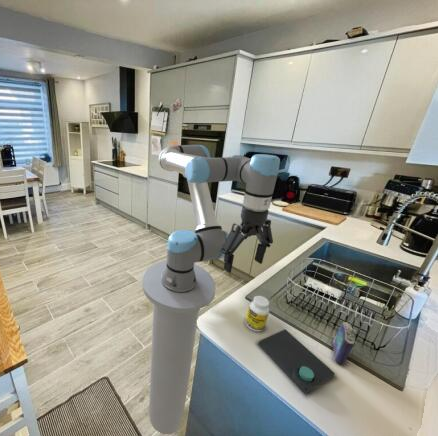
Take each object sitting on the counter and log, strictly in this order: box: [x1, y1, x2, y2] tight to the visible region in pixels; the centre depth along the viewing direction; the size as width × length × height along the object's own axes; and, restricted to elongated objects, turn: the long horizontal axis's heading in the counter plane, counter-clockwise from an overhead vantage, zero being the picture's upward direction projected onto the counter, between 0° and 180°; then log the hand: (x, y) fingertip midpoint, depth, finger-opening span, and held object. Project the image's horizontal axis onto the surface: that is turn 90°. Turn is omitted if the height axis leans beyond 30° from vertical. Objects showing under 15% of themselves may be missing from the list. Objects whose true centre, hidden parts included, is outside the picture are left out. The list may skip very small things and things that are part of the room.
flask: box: [332, 321, 357, 366], centre depth 72 cm, size 9×3×11 cm, turn 148°
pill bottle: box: [244, 295, 270, 332], centre depth 81 cm, size 6×6×11 cm
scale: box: [257, 329, 336, 395], centre depth 71 cm, size 16×13×3 cm
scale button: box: [299, 366, 314, 382], centre depth 65 cm, size 3×3×2 cm
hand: (243, 265), depth 81 cm, fingers open, 13 cm apart
